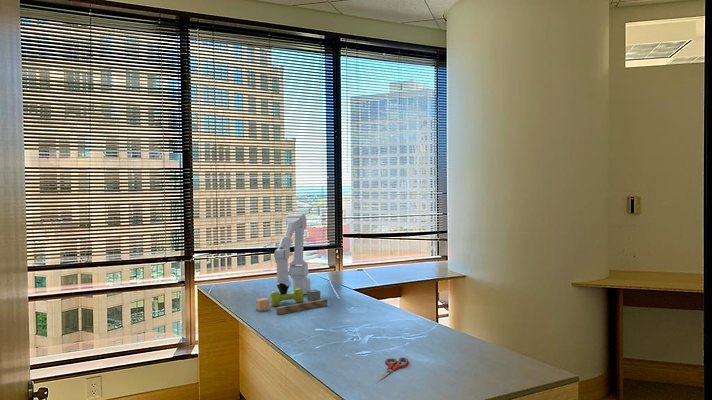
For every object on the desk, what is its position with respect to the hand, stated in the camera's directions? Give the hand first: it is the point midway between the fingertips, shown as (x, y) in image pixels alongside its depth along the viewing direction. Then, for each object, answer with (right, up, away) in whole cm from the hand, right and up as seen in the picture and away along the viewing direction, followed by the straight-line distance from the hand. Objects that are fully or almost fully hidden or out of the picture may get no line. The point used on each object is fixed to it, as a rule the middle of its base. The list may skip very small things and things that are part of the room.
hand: (283, 298), depth 254 cm
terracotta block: (-8, -3, -14) cm, 16 cm away
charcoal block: (+16, -1, +1) cm, 16 cm away
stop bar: (+12, -2, -18) cm, 22 cm away
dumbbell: (+3, -2, -5) cm, 6 cm away
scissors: (+49, -3, -102) cm, 113 cm away
